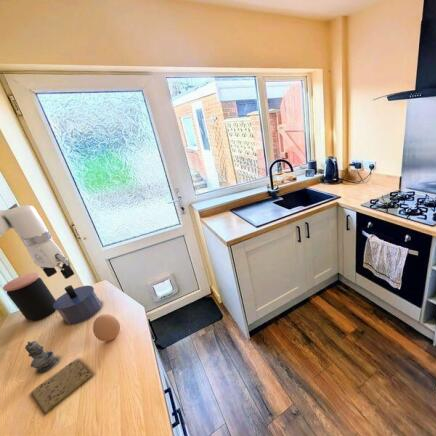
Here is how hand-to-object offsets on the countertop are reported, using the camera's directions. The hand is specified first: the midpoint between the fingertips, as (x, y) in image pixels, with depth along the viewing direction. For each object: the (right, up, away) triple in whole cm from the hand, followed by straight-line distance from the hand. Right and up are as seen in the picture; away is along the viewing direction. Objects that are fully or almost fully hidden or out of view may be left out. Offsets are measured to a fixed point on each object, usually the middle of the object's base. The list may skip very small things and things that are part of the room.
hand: (61, 275), depth 98 cm
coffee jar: (-18, -19, +12) cm, 29 cm away
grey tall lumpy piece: (+8, -28, -13) cm, 32 cm away
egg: (+24, -22, -5) cm, 34 cm away
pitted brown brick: (+19, -30, -20) cm, 41 cm away
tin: (+2, -18, +9) cm, 20 cm away
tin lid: (+1, -10, +5) cm, 12 cm away
